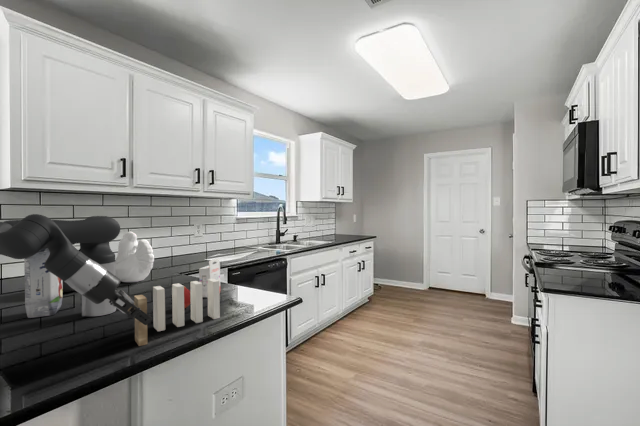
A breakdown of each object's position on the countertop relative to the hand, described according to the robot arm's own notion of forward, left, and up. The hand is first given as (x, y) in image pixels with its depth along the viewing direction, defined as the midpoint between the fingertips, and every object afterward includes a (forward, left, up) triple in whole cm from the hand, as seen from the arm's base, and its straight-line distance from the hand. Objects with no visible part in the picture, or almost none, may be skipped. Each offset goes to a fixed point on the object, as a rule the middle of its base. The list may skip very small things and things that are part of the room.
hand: (145, 317), depth 89 cm
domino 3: (+12, +13, -6) cm, 19 cm away
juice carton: (-37, +40, -6) cm, 55 cm away
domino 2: (+7, +11, -6) cm, 15 cm away
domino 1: (+2, +10, -6) cm, 12 cm away
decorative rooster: (-18, +86, -6) cm, 88 cm away
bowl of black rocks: (-42, +75, -6) cm, 86 cm away
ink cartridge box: (+17, +46, -6) cm, 49 cm away
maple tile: (-1, 0, -6) cm, 6 cm away
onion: (+8, +29, -6) cm, 30 cm away
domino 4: (+18, +15, -6) cm, 24 cm away
